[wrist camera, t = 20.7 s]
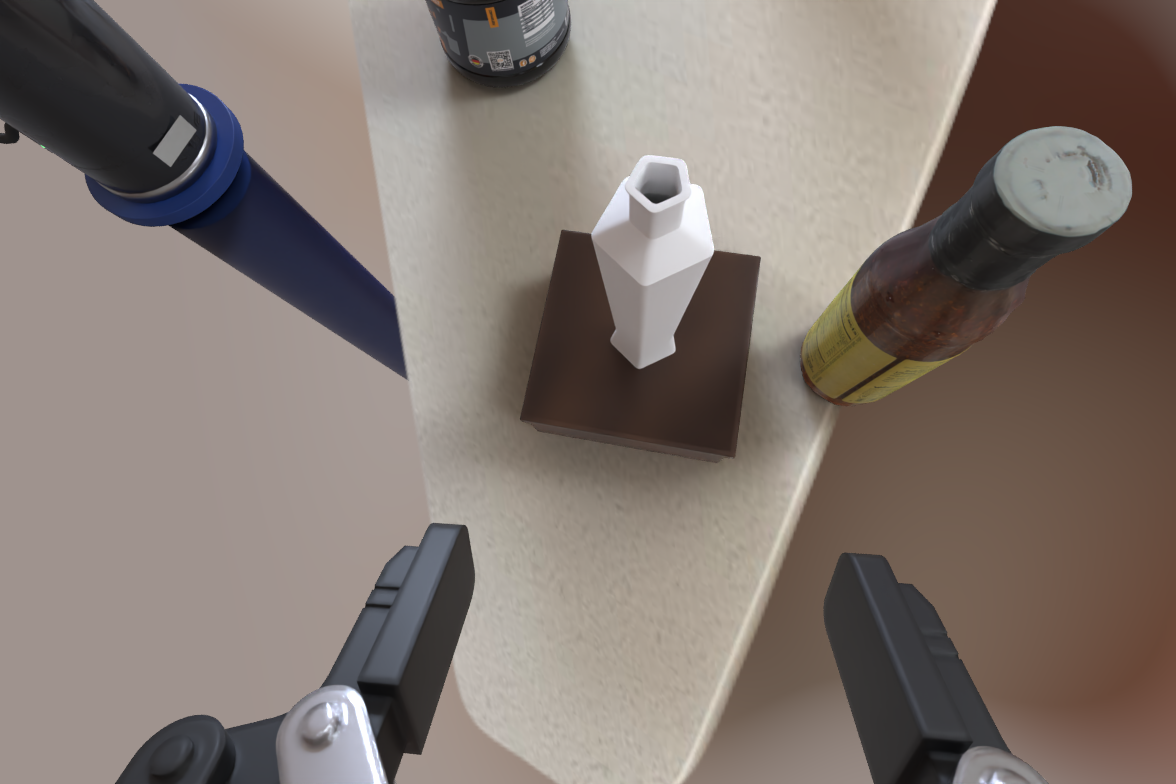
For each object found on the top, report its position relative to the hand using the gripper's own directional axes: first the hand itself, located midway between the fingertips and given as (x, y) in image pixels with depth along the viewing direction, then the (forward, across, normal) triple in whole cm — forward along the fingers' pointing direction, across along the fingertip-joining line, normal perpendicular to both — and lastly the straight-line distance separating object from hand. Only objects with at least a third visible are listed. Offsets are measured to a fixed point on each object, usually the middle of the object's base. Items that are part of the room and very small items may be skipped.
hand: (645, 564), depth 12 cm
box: (+25, 0, +8) cm, 26 cm away
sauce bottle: (+25, -13, +8) cm, 29 cm away
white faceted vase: (+21, 0, +5) cm, 22 cm away
